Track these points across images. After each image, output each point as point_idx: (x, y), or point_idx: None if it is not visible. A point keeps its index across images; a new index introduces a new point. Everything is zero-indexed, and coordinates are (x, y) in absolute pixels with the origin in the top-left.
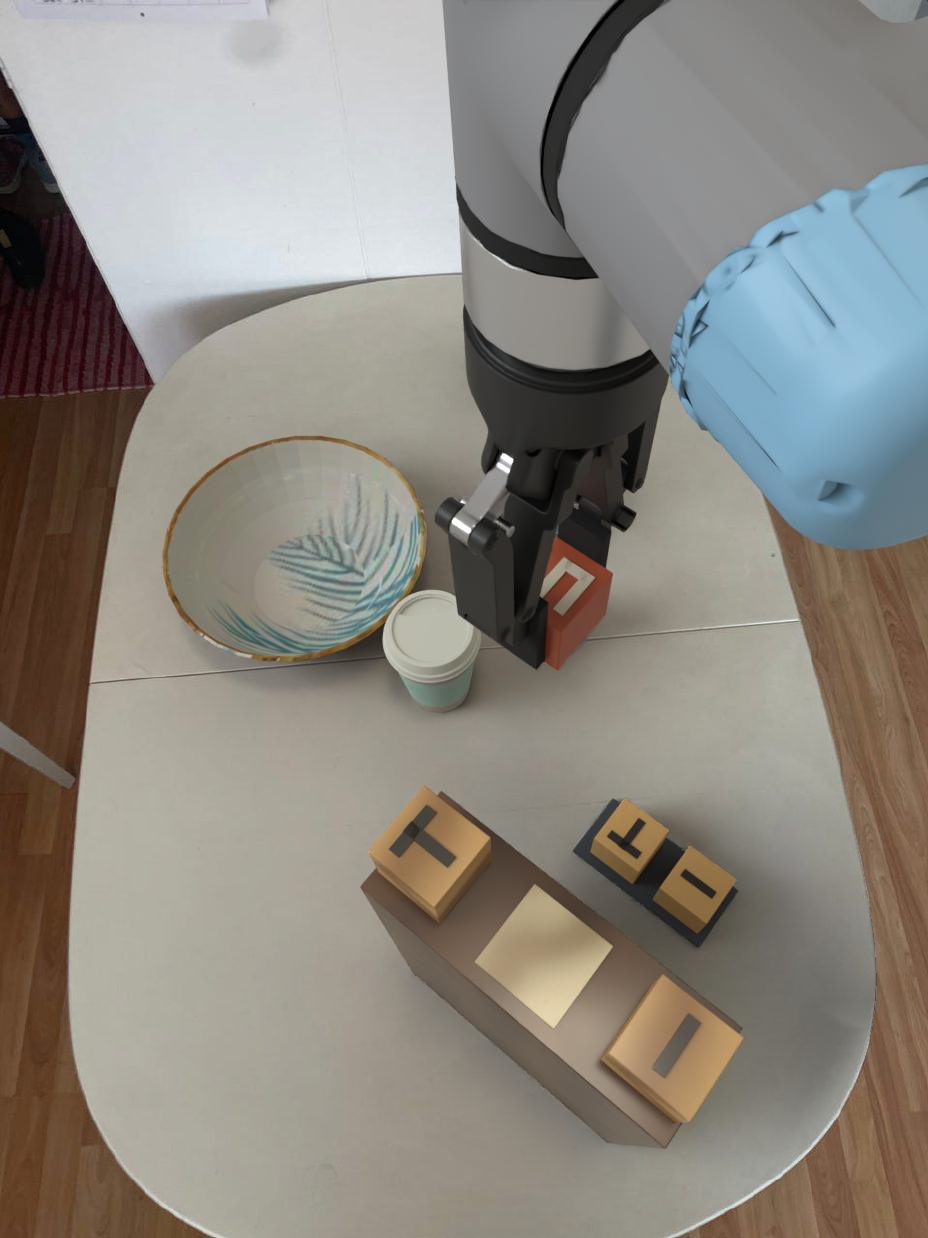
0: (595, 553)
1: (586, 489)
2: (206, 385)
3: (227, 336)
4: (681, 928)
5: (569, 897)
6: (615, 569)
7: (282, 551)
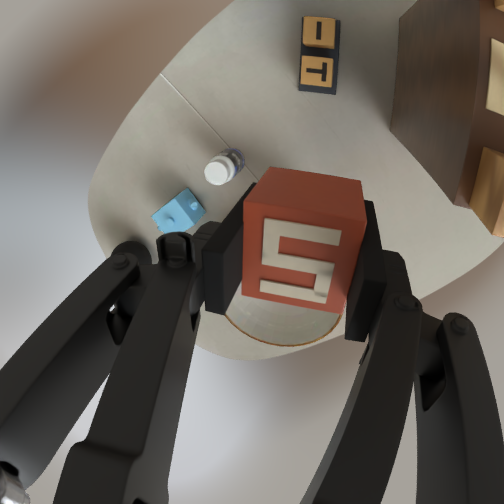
0: (237, 239)
1: (183, 351)
2: (232, 349)
3: (209, 351)
4: (337, 31)
5: (480, 79)
6: (188, 157)
7: None
